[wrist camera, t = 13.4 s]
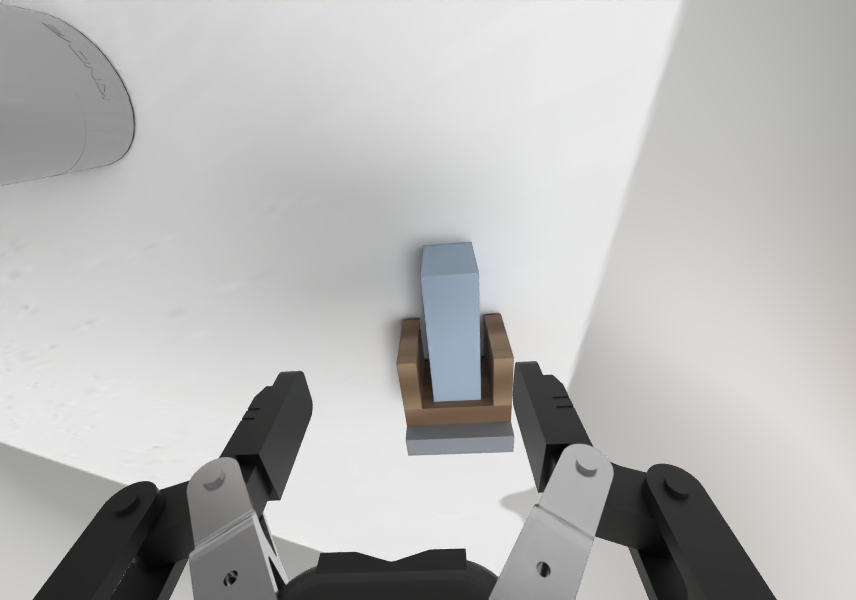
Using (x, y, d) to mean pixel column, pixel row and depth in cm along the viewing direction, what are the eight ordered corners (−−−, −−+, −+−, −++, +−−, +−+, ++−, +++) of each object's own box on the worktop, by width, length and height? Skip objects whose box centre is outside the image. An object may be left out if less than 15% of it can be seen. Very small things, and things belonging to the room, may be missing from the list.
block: (403, 320, 32) (396, 364, 27) (500, 314, 32) (513, 358, 26) (411, 376, 36) (407, 425, 30) (499, 372, 35) (510, 421, 30)
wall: (411, 374, 36) (405, 440, 29) (499, 370, 35) (514, 436, 28) (413, 389, 37) (408, 455, 30) (498, 385, 36) (513, 451, 29)
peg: (423, 245, 29) (420, 276, 24) (471, 241, 29) (478, 272, 24) (434, 356, 35) (434, 401, 30) (474, 354, 35) (480, 399, 30)
